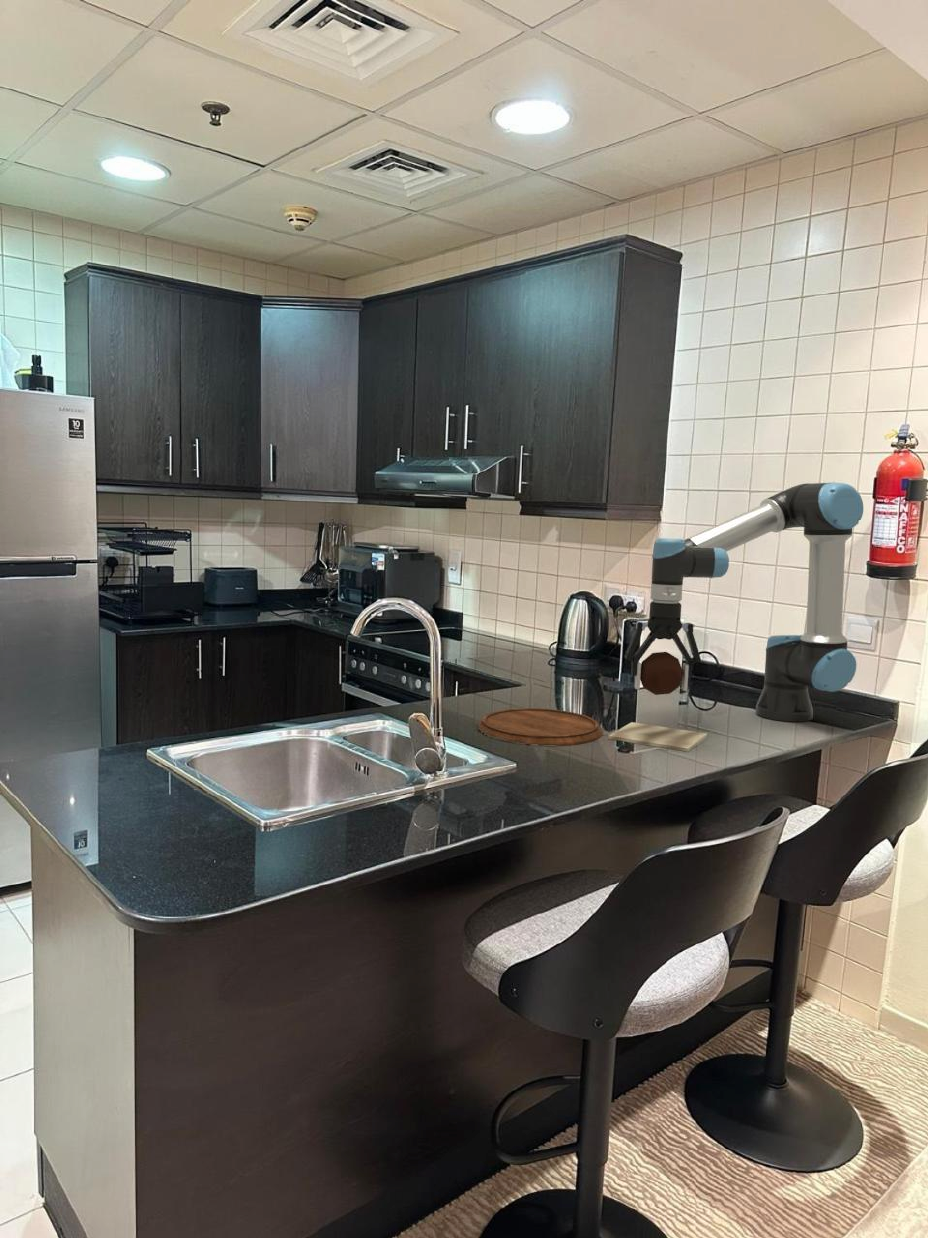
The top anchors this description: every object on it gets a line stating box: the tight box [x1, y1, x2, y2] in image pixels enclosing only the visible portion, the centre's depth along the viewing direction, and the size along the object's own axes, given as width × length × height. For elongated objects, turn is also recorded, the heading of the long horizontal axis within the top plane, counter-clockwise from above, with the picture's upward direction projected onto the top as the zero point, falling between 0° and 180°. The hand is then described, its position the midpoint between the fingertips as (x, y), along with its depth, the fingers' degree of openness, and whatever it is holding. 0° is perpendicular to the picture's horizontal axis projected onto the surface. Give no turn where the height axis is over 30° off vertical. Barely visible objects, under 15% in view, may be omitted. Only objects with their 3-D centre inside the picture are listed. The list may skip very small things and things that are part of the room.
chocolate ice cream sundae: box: [640, 651, 683, 696], centre depth 214 cm, size 11×11×15 cm
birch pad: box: [607, 721, 708, 752], centre depth 217 cm, size 20×17×1 cm
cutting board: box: [477, 707, 604, 747], centre depth 223 cm, size 32×32×2 cm
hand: (660, 689), depth 216 cm, fingers closed on chocolate ice cream sundae, 11 cm apart
